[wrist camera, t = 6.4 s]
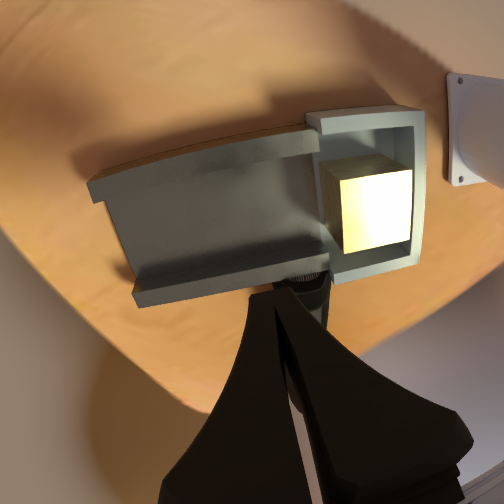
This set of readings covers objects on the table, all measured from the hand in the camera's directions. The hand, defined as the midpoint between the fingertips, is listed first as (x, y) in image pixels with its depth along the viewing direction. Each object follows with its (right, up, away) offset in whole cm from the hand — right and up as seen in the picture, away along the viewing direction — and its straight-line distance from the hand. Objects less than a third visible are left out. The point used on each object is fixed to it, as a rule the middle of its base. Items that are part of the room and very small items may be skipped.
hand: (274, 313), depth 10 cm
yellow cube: (+5, +6, +8) cm, 11 cm away
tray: (+6, +6, +8) cm, 12 cm away
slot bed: (-3, +4, +8) cm, 10 cm away
